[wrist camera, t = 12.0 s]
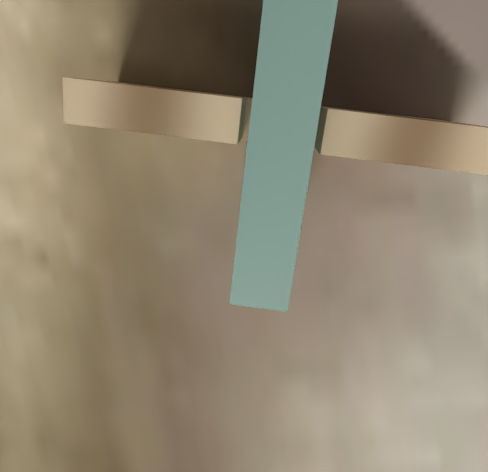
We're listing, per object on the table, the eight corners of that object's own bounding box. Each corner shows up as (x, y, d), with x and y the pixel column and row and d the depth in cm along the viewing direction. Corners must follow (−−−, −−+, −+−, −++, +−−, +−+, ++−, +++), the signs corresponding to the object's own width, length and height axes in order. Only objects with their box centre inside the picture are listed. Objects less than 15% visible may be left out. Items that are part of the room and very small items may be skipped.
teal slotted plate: (246, 225, 28) (229, 304, 17) (275, -15, 23) (275, -105, 13) (282, 230, 28) (287, 311, 17) (318, -10, 23) (354, -96, 13)
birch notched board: (117, 116, 26) (63, 122, 19) (118, 81, 25) (62, 77, 19) (441, 155, 25) (500, 176, 19) (450, 121, 25) (514, 131, 18)
